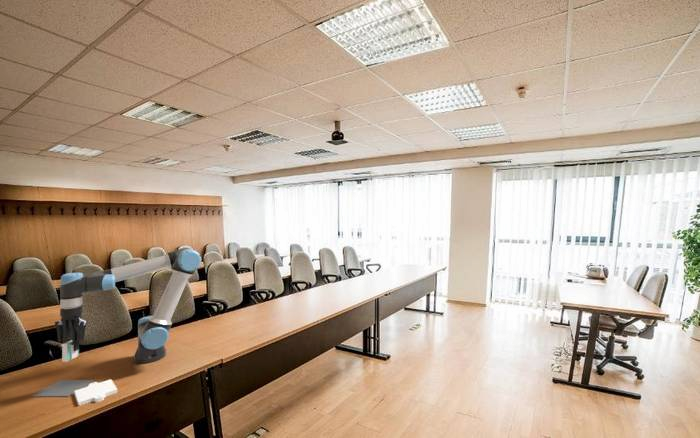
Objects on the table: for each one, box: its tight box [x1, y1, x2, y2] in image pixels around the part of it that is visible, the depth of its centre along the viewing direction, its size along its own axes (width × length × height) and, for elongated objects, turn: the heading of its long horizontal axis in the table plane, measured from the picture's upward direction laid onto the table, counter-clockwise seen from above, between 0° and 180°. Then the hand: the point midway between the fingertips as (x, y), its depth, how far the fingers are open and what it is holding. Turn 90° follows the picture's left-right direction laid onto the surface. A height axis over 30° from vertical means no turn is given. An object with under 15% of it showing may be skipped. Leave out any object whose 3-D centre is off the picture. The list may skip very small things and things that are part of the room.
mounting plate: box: [73, 378, 118, 406], centre depth 132 cm, size 18×13×2 cm
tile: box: [61, 339, 80, 363], centre depth 136 cm, size 2×6×8 cm, turn 0°
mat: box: [31, 379, 95, 398], centre depth 136 cm, size 16×13×1 cm
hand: (70, 357), depth 136 cm, fingers closed on tile, 2 cm apart
